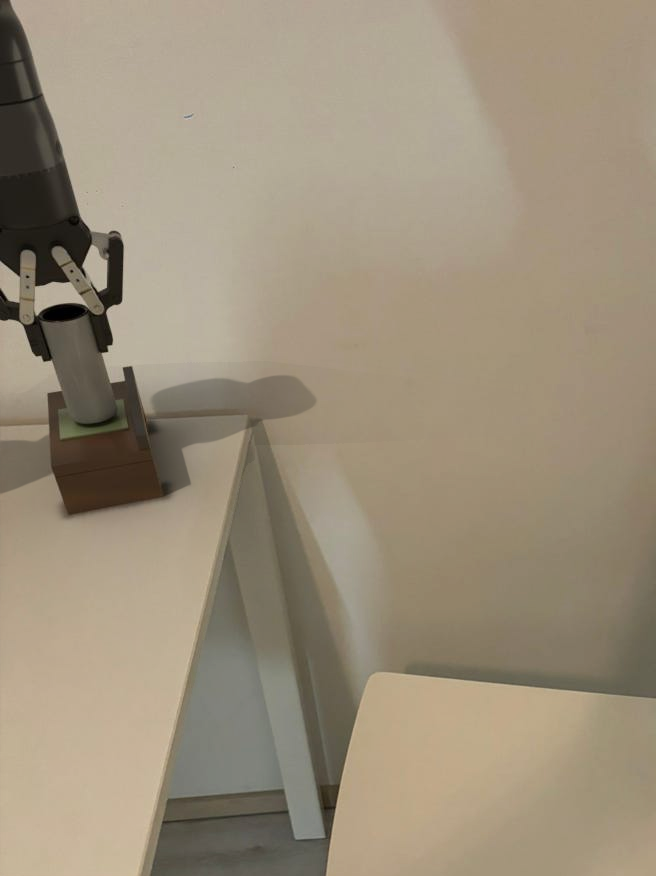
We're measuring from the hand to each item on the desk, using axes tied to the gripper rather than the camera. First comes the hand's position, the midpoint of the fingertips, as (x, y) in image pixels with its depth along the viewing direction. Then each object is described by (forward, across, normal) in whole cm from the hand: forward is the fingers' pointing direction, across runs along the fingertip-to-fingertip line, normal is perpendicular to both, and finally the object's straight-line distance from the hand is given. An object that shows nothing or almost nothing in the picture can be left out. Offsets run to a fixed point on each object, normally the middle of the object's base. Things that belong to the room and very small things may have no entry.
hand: (75, 353), depth 89 cm
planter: (+7, 0, 0) cm, 7 cm away
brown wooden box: (+13, 0, 0) cm, 13 cm away
